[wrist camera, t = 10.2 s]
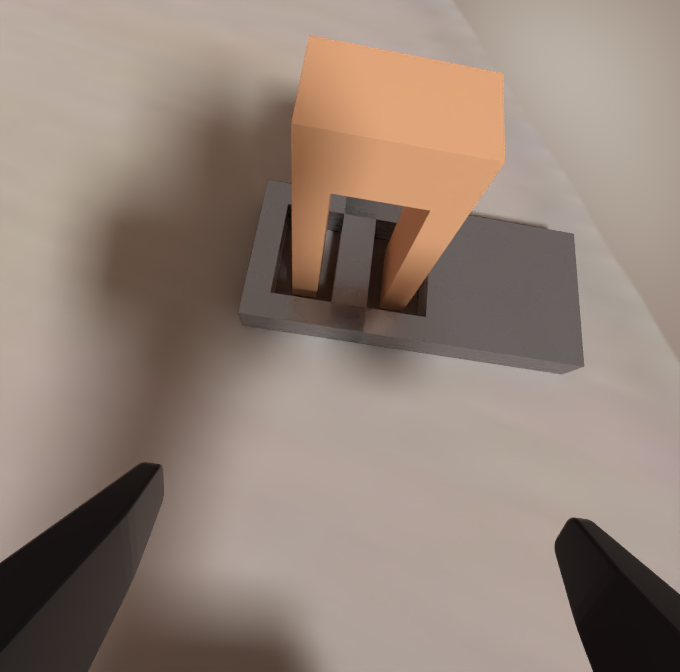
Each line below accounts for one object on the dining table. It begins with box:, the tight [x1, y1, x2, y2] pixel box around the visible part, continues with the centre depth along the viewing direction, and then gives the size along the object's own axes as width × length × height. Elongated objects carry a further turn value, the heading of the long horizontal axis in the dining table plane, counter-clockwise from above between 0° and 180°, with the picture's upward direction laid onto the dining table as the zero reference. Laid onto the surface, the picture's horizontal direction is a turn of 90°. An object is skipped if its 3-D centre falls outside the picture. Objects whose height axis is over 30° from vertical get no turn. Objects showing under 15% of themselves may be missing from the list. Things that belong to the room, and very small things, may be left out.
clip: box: [291, 35, 505, 311], centre depth 20 cm, size 7×4×13 cm, turn 83°
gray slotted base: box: [238, 180, 584, 374], centre depth 25 cm, size 20×9×2 cm, turn 83°
